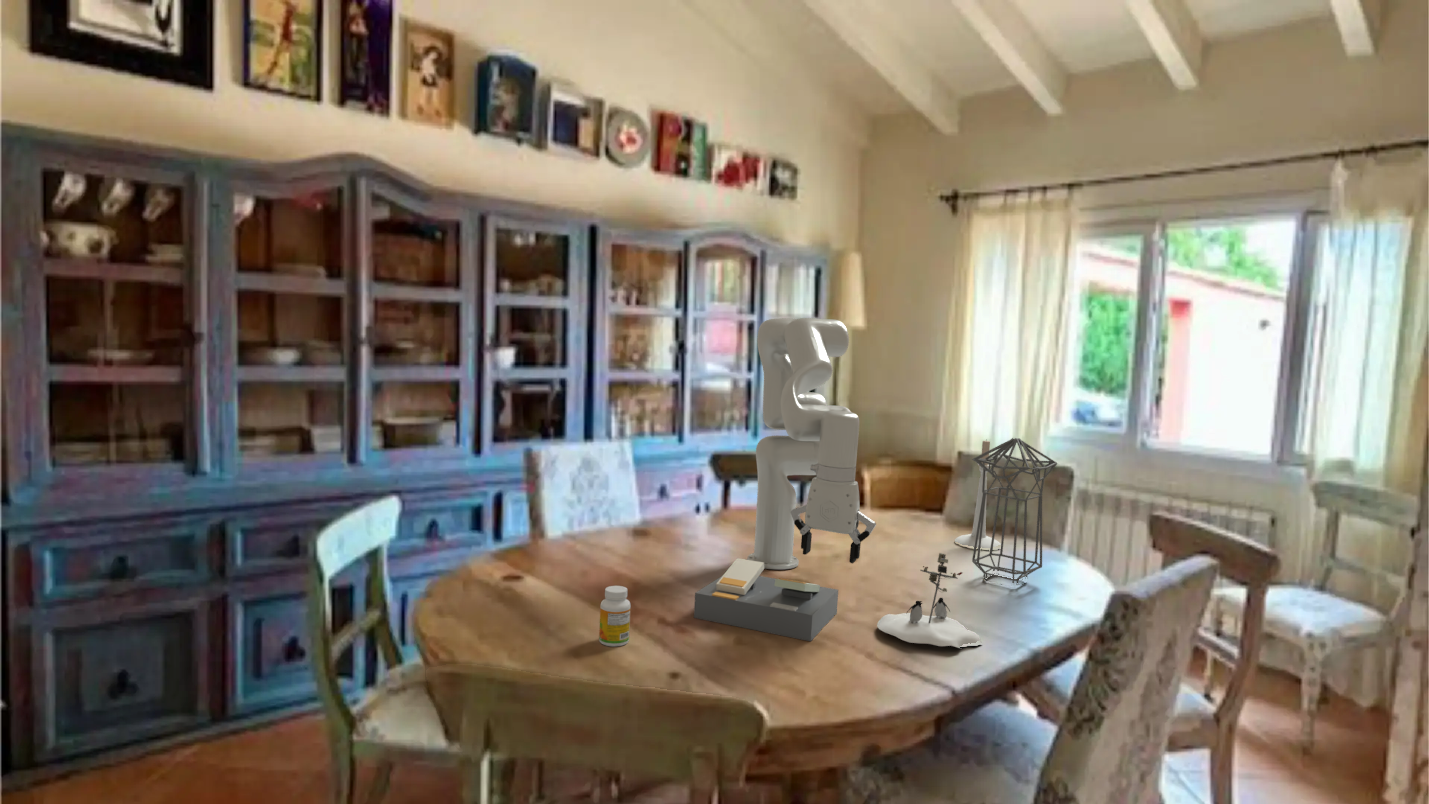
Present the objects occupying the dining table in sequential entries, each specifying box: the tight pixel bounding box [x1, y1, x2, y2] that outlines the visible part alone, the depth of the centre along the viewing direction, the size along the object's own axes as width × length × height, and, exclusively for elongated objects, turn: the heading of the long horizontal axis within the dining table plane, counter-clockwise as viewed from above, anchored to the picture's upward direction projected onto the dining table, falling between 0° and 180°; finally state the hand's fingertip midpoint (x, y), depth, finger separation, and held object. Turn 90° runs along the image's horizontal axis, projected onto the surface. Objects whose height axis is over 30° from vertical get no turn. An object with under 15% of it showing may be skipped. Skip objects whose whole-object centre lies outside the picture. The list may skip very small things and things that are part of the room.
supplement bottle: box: [598, 585, 632, 648], centre depth 152 cm, size 5×5×10 cm
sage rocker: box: [774, 577, 821, 592], centre depth 168 cm, size 11×6×2 cm, turn 157°
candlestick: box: [954, 439, 1001, 548], centre depth 238 cm, size 13×13×30 cm
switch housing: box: [693, 575, 839, 642], centre depth 170 cm, size 18×24×6 cm
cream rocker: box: [716, 557, 765, 595], centre depth 172 cm, size 11×6×2 cm, turn 156°
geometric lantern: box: [971, 437, 1058, 584], centre depth 201 cm, size 16×16×35 cm
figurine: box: [876, 552, 981, 649], centre depth 164 cm, size 20×18×16 cm
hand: (829, 557), depth 170 cm, fingers open, 9 cm apart
